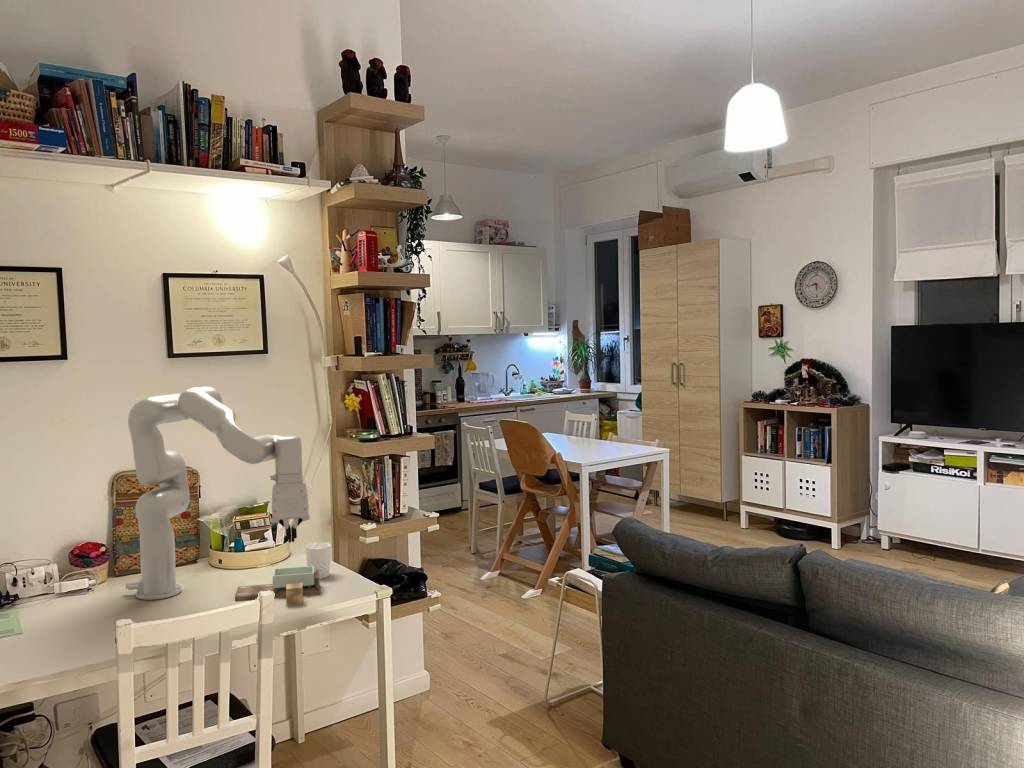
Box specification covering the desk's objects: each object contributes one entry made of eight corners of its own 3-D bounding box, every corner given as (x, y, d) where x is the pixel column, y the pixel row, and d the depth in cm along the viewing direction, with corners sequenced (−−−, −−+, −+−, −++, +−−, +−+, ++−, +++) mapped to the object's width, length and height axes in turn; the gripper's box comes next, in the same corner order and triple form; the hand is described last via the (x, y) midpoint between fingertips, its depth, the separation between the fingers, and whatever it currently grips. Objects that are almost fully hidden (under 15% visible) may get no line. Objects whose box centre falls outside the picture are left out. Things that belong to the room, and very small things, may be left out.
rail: (235, 600, 227) (234, 584, 226) (238, 590, 236) (237, 574, 236) (319, 593, 233) (319, 578, 232) (319, 584, 242) (318, 569, 242)
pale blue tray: (272, 592, 230) (272, 576, 230) (274, 584, 238) (273, 568, 238) (314, 588, 233) (314, 573, 233) (314, 580, 241) (314, 565, 241)
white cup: (325, 580, 246) (325, 549, 246) (302, 579, 248) (301, 548, 247) (335, 572, 254) (334, 542, 254) (312, 571, 256) (311, 542, 255)
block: (286, 606, 222) (286, 588, 222) (286, 600, 227) (286, 584, 226) (302, 604, 223) (302, 587, 223) (302, 599, 228) (302, 582, 228)
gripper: (261, 482, 218) (263, 546, 219) (315, 479, 222) (318, 542, 223) (262, 478, 226) (265, 540, 227) (315, 475, 230) (317, 536, 230)
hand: (291, 541), depth 225 cm, fingers closed
